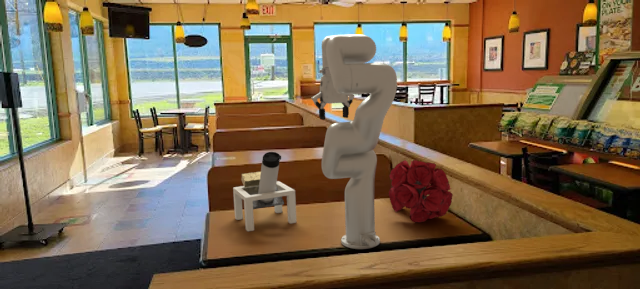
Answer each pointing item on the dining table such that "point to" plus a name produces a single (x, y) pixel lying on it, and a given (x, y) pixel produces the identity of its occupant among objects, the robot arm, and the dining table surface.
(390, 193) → the bouquet
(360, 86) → the robot arm
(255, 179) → the trapdoor
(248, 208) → the stand
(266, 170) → the travel mug
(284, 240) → the dining table surface
